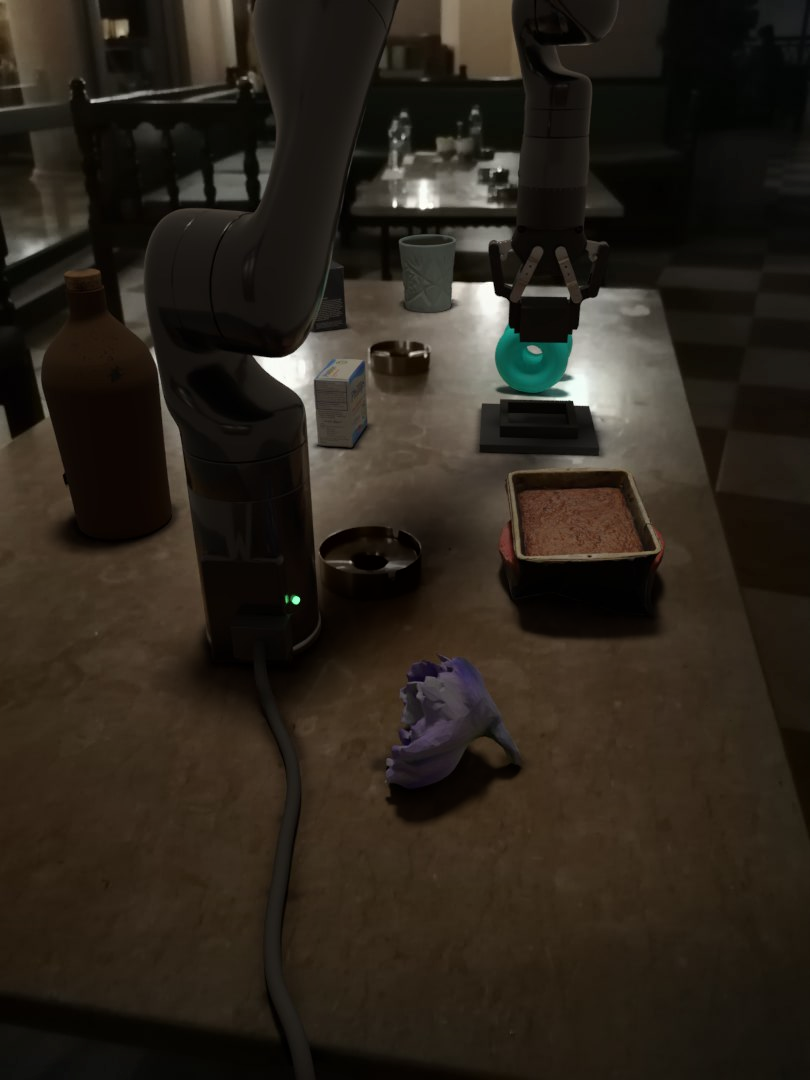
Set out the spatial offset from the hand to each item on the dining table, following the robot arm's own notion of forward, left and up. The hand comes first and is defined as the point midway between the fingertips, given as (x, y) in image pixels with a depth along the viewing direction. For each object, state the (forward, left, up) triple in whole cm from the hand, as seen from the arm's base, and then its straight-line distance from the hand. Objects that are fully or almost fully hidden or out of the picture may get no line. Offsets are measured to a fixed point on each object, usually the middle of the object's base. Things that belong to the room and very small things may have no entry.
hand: (543, 331), depth 107 cm
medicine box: (-3, +24, -13) cm, 27 cm away
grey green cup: (+60, +18, -13) cm, 64 cm away
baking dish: (-35, -2, -13) cm, 38 cm away
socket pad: (0, 0, -13) cm, 13 cm away
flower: (-60, +8, -13) cm, 62 cm away
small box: (+48, +36, -13) cm, 61 cm away
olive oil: (-27, +43, -13) cm, 52 cm away
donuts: (+18, 0, -13) cm, 22 cm away
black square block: (0, 0, 0) cm, 0 cm away
